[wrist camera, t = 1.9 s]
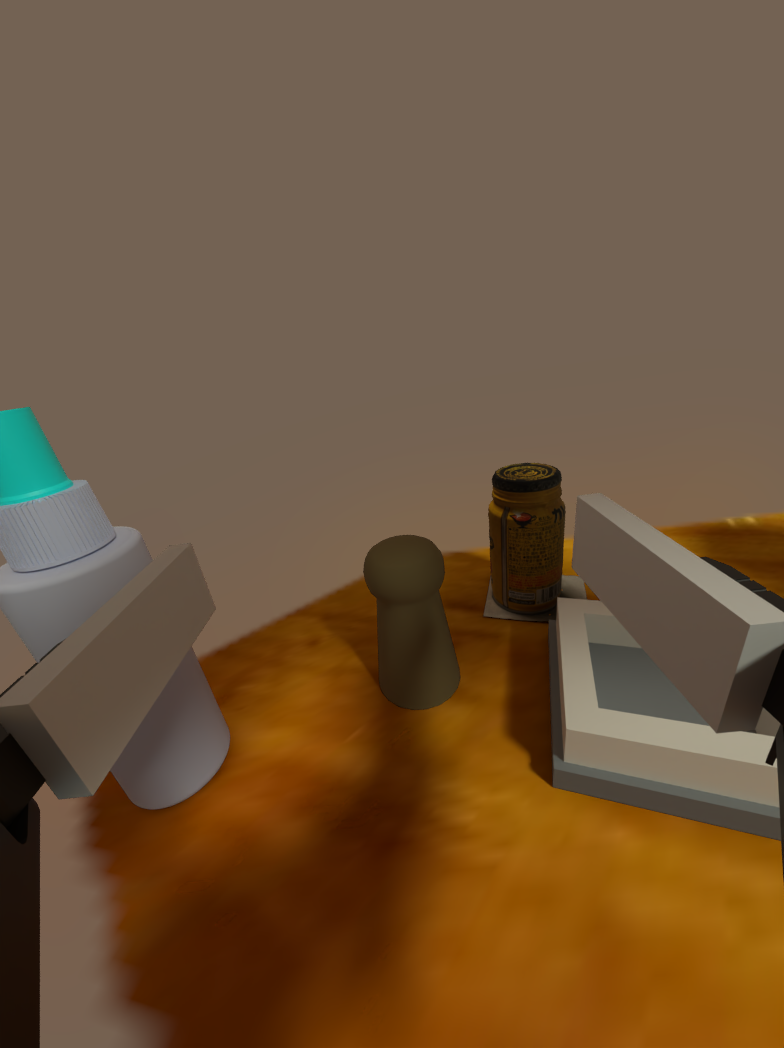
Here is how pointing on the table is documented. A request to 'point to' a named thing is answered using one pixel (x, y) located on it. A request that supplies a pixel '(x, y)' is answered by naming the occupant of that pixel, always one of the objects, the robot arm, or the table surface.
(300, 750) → the table surface
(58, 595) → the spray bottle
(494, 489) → the condiment
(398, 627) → the cork
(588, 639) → the collar holder
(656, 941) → the table surface
